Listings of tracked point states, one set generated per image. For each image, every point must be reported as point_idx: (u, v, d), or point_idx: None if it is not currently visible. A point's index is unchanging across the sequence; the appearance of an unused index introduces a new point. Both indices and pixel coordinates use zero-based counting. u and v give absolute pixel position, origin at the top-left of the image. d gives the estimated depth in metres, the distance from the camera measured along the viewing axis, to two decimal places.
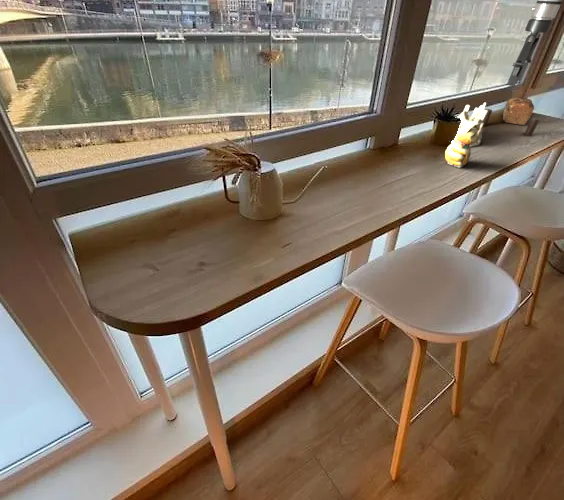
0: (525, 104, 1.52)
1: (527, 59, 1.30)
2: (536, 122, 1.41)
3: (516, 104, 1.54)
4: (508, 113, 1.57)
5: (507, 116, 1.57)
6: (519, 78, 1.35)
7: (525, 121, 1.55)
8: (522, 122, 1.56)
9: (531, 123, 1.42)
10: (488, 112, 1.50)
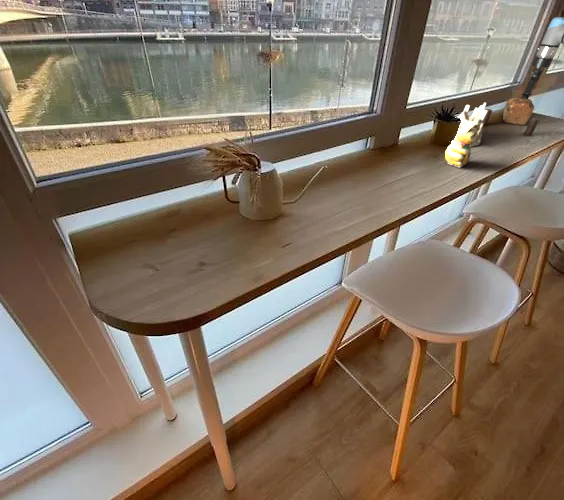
0: (525, 104, 1.52)
1: None
2: (536, 122, 1.41)
3: (516, 104, 1.54)
4: (508, 113, 1.57)
5: (507, 116, 1.57)
6: None
7: (525, 121, 1.55)
8: (522, 122, 1.56)
9: (531, 123, 1.42)
10: (488, 112, 1.50)
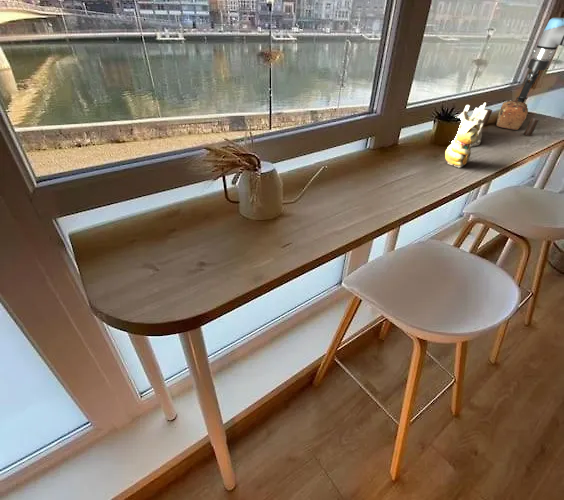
0: (518, 108, 1.46)
1: None
2: (536, 122, 1.41)
3: (509, 108, 1.48)
4: (501, 117, 1.50)
5: (500, 120, 1.51)
6: None
7: (518, 126, 1.49)
8: (515, 127, 1.50)
9: (531, 123, 1.42)
10: (488, 112, 1.50)
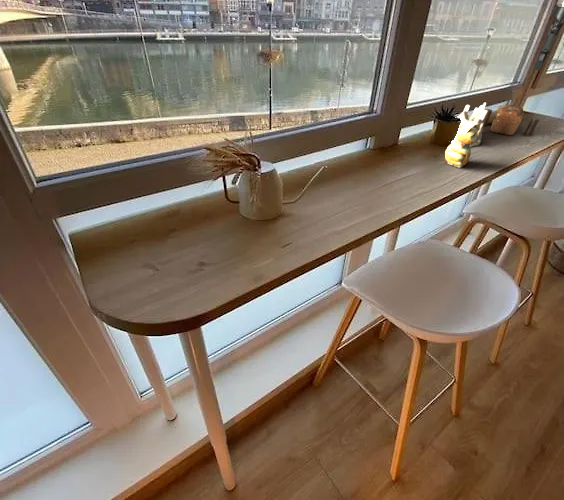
0: (513, 112, 1.40)
1: None
2: (536, 122, 1.41)
3: (503, 112, 1.42)
4: (495, 122, 1.44)
5: (494, 125, 1.45)
6: None
7: (513, 131, 1.43)
8: (510, 132, 1.43)
9: (531, 123, 1.42)
10: (488, 112, 1.50)
